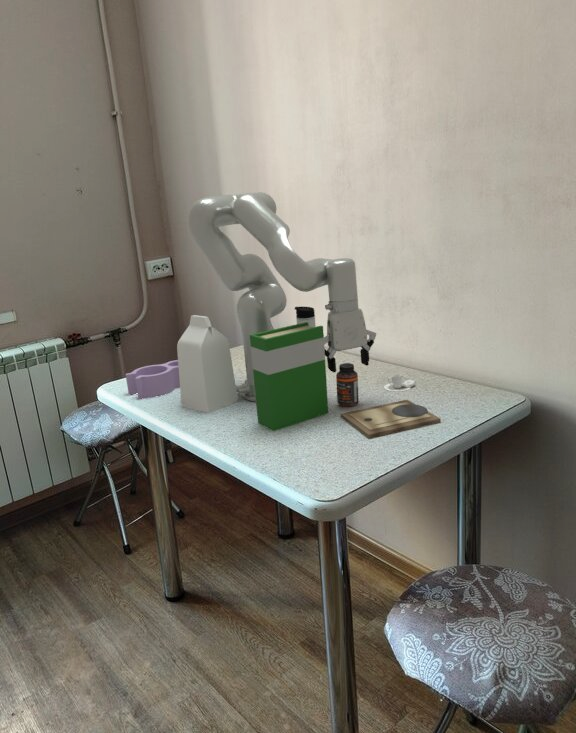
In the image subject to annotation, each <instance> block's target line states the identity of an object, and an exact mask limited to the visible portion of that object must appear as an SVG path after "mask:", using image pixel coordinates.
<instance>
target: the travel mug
mask: <svg viewBox="0 0 576 733" xmlns="http://www.w3.org/2000/svg"><path fill="white" fill-rule="evenodd" d="M294 310H295V311H296V313H295V314H296V316H295V317H296V318H295V319H296V324H300V323H305V322H308V324H309V326H311V327H317V326H316V314H315V313H316V312H315V308H314V307H311V306H294Z"/></svg>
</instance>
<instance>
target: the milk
mask: <svg viewBox="0 0 576 733" xmlns="http://www.w3.org/2000/svg"><path fill="white" fill-rule="evenodd" d="M189 319H190V320H189V325H188V327H186V329H185V330H184V332H183V333H182V335H181V336H180V338H179V340H178V341H177V345H176V352H177V360H178V366H179V379H180V387H179V390H180V392H179V393H180V404H181V405H182V407H186V408H189V409H192V410H196V411H200V412H203V413H205V414H210V413H213V412H215V411H217V410H220V409H223V408H225V407H227V406H229V405H232V404H234V403H236V402H238V401H239V397H238V392H237V391H236V386H237V384H236V380H235V379H236V377H235V371H234V366H233V361H232V360H233V359H232V352H231V348H230V343H229V339H228V338H227V337H226V336H225V335H224V334H222V333H221V332H219V331H218V330H217V329H216V328H215V327H213V325H212V322H211V321H210V318H209V316H205V315H197V314H193V315H190V318H189Z"/></svg>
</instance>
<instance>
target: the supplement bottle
mask: <svg viewBox="0 0 576 733" xmlns="http://www.w3.org/2000/svg"><path fill="white" fill-rule="evenodd" d="M335 383H336V398H337V399H336V400H337V405H338V406H340V407H346V408H347V407H348V408H350V407H355V406H357V405H358V404H359V402H360V401H359V376H358V372H357V371H355V365H354V363H350V362H345V363H341V364H339V366H338V372H337V373H336V382H335Z"/></svg>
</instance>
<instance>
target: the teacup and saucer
mask: <svg viewBox="0 0 576 733" xmlns="http://www.w3.org/2000/svg"><path fill="white" fill-rule="evenodd" d="M390 378H391V382H390V380H389V379H390ZM403 379H404V378H403V374H401V373H394V374H391V376H389V377H387V381H388V383H386V384H385V385H384V386H383V388H384V390H386V391H389V392H395V393H396V392H398V393H399V392H405V391H409V390H410V389H412V387H414V386H415V385H416V381H415V380H412V379H408V380H405V381H404V380H403ZM403 381H404V382H403ZM390 386H391V387H393V388H394V389H390V388H389V387H390ZM402 386H403V387H404V389H401V388H402ZM395 389H399V390H395Z"/></svg>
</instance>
